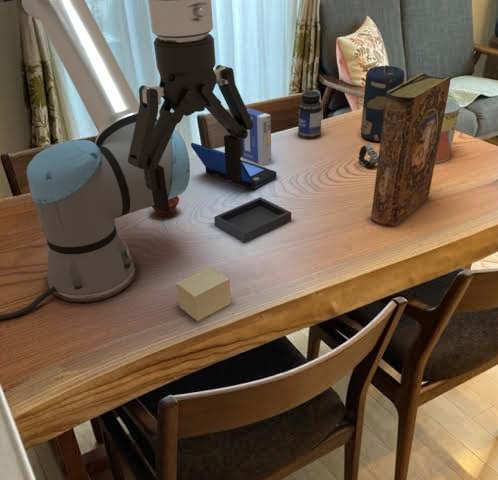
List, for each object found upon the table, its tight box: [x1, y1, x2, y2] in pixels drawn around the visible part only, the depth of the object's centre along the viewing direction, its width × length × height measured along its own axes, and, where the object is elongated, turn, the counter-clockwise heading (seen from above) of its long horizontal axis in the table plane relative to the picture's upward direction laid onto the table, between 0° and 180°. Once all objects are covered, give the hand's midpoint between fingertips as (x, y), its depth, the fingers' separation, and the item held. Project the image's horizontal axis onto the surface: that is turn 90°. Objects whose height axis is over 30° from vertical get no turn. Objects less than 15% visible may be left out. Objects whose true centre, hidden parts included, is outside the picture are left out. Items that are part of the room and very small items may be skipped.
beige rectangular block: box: [176, 266, 232, 322], centre depth 88 cm, size 7×5×5 cm
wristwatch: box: [357, 143, 379, 168], centre depth 130 cm, size 3×5×5 cm
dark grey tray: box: [213, 196, 292, 243], centre depth 110 cm, size 13×10×2 cm
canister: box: [360, 64, 405, 142], centre depth 139 cm, size 10×10×18 cm
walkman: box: [241, 107, 272, 166], centre depth 132 cm, size 8×3×12 cm, turn 43°
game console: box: [190, 142, 277, 190], centre depth 125 cm, size 16×13×9 cm
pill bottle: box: [297, 90, 323, 140], centre depth 144 cm, size 6×6×11 cm
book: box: [370, 72, 452, 228], centre depth 105 cm, size 16×6×25 cm, turn 141°
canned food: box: [435, 99, 461, 164], centre depth 131 cm, size 11×11×12 cm
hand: (199, 193), depth 80 cm, fingers open, 13 cm apart
